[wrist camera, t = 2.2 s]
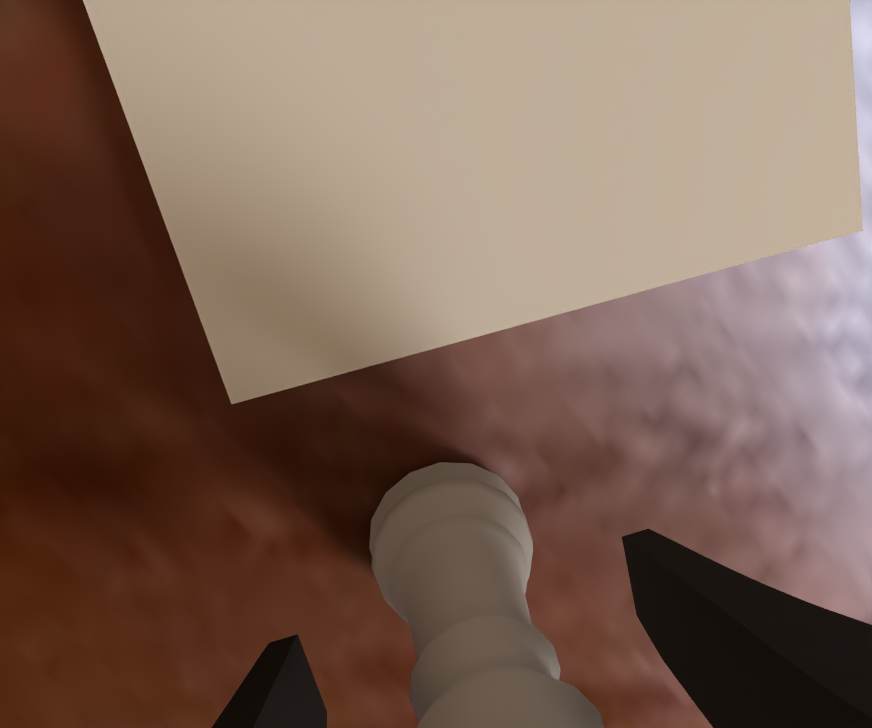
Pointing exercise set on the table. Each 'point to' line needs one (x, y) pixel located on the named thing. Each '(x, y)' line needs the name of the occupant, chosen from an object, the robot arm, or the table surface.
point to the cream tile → (471, 159)
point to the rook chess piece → (469, 603)
